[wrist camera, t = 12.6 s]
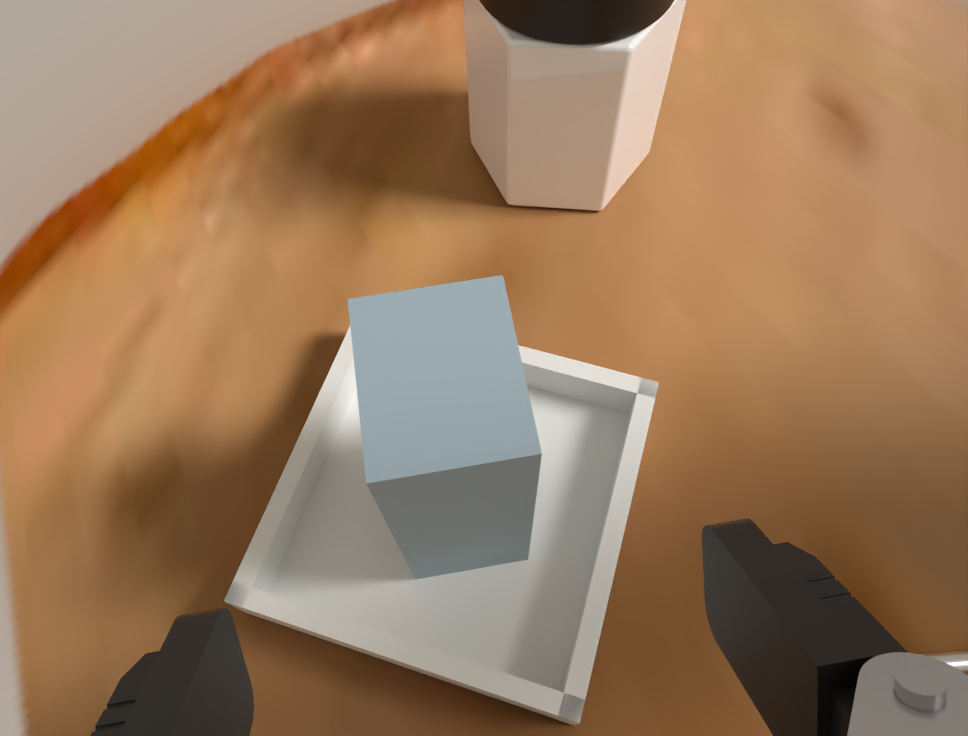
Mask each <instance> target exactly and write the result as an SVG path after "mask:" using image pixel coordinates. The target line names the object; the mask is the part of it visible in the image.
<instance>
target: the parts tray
mask: <svg viewBox="0 0 968 736" xmlns="http://www.w3.org/2000/svg"><path fill="white" fill-rule="evenodd" d="M518 347H519V352H520V356H521V361H522V365H523V370H524V374H525V379H526V384H527V388H528V393H529V397H530V402H531V406H532V411H533V415H534V420H535V425H536V429H537V434H538V438H539V443H540V447H541V452H542V457H541V465H540V472H539V480H538V488H537V495H536V503H535V511H534V518H533V526H532V534H531V541H530V549H529V557H528V560H523V561H517V562H512V563H506V564H500V565H495V566H489V567H483V568H478V569H472V570H467V571H461V572H455V573H450V574H444V575H438V576H433V577H427V578H421V579H415V577H414V575H413V573H412V572H411V570H410V568H409V566H408V564H407V562H406V560H405V558H404V556H403V554H402V552H401V550H400V548H399V546H398V544H397V542H396V540H395V538H394V537H393V535H392V533H391V531H390V529H389V527H388V525H387V523H386V521H385V519H384V517H383V515H382V513H381V511H380V509H379V507H378V505H377V503H376V501H375V500H374V498H373V496H372V494H371V492H370V490H369V488H368V486H367V484H366V476H365V466H364V456H363V446H362V436H361V426H360V416H359V407H358V397H357V387H356V377H355V367H354V357H353V347H352V337H351V327H349V329H348V331H347V334H346V336H345V338H344V340H343V342H342V344H341V347H340V349H339V351H338V353H337V355H336V357H335V360H334V362H333V364H332V366H331V368H330V371H329V373H328V375H327V377H326V379H325V381H324V384H323V386H322V388H321V390H320V392H319V394H318V397H317V399H316V401H315V403H314V405H313V408H312V410H311V412H310V414H309V416H308V418H307V421H306V423H305V425H304V427H303V429H302V431H301V434H300V436H299V438H298V440H297V442H296V445H295V447H294V449H293V451H292V453H291V455H290V458H289V460H288V462H287V464H286V466H285V468H284V471H283V473H282V475H281V477H280V479H279V482H278V484H277V486H276V488H275V490H274V492H273V495H272V497H271V499H270V501H269V503H268V505H267V508H266V510H265V512H264V514H263V516H262V519H261V521H260V523H259V525H258V527H257V529H256V532H255V534H254V536H253V538H252V540H251V542H250V545H249V547H248V549H247V551H246V553H245V556H244V558H243V560H242V562H241V564H240V566H239V569H238V571H237V573H236V575H235V577H234V579H233V582H232V584H231V586H230V588H229V590H228V593H227V595H226V597H225V599H224V602H226V603H228V604H230V605H232V606H234V607H236V608H237V609H239V610H241V611H243V612H245V613H247V614H250V615H253V616H256V617H259V618H262V619H265V620H268V621H270V622H273V623H276V624H279V625H282V626H285V627H288V628H291V629H294V630H297V631H300V632H302V633H305V634H308V635H311V636H314V637H317V638H320V639H323V640H326V641H329V642H332V643H334V644H337V645H340V646H343V647H346V648H349V649H352V650H355V651H358V652H361V653H364V654H366V655H369V656H372V657H375V658H378V659H381V660H384V661H387V662H390V663H393V664H396V665H398V666H401V667H404V668H407V669H410V670H413V671H416V672H419V673H422V674H425V675H428V676H430V677H433V678H436V679H439V680H442V681H445V682H448V683H451V684H454V685H457V686H460V687H462V688H465V689H468V690H471V691H474V692H477V693H480V694H483V695H486V696H489V697H492V698H495V699H497V700H500V701H503V702H506V703H509V704H512V705H515V706H518V707H521V708H524V709H527V710H529V711H532V712H535V713H538V714H541V715H544V716H547V717H550V718H553V719H556V720H559V721H561V722H564V723H567V724H570V725H576V724H579V723H580V720H581V716H582V712H583V707H584V703H585V699H586V694H587V690H588V686H589V681H590V677H591V673H592V669H593V664H594V660H595V656H596V651H597V647H598V643H599V638H600V634H601V630H602V625H603V621H604V617H605V613H606V608H607V604H608V600H609V595H610V591H611V587H612V582H613V578H614V574H615V570H616V565H617V561H618V557H619V552H620V548H621V544H622V539H623V535H624V531H625V526H626V522H627V518H628V514H629V509H630V505H631V501H632V496H633V492H634V488H635V483H636V479H637V475H638V471H639V466H640V462H641V458H642V453H643V449H644V445H645V440H646V436H647V432H648V427H649V423H650V419H651V415H652V410H653V406H654V402H655V397H656V393H657V389H658V384H659V382H656V381H652V380H648V379H644V378H641V377H637V376H633V375H629V374H625V373H622V372H618V371H614V370H610V369H606V368H603V367H599V366H595V365H591V364H588V363H584V362H580V361H576V360H572V359H569V358H565V357H561V356H557V355H553V354H550V353H546V352H542V351H538V350H534V349H531V348H527V347H523V346H519V345H518Z"/></svg>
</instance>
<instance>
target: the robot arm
mask: <svg viewBox="0 0 968 736" xmlns="http://www.w3.org/2000/svg"><path fill="white" fill-rule="evenodd" d="M702 550H703V569H704V589H705V605H706V612H707V617H708V621H709V624H710V627H711V630H712V633H713V636H714V638H715V640H716V642H717V644H718V645H719V647H720V649H721V650H722V652H723V654H724V655H725V657H726V659H727V660H728V662H729V663H730V665H731V667H732V668H733V670H734V672H735V673H736V675H737V677H738V678H739V680H740V682H741V683H742V685H743V687H744V688H745V690H746V691H747V693H748V695H749V696H750V698H751V700H752V701H753V703H754V705H755V706H756V708H757V710H758V711H759V713H760V715H761V716H762V718H763V720H764V721H765V723H766V724H767V726H768V728H769V729H770V731H771V733H772V734H773V736H968V676H967V675H966V674H964V673H963V672H962V671H960V670H958V669H957V668H955V667H954V666H952V665H950V664H948V663H945V662H943V661H941V660H938V659H935V658H933V657H929V656H925V655H921V654H915V653H908V652H907V651H906V650H905V649H904V648H903V647H902V646H901V645H900V644H899V643H898V642H897V641H896V640H895V639H894V638H893V637H892V636H891V635H890V634H889V633H888V632H887V631H886V630H885V629H884V627H883V626H882V625H881V624H880V623H879V622H878V621H877V620H876V619H875V618H874V617H873V616H872V615H871V614H870V613H869V612H868V611H867V610H866V609H865V608H864V607H863V606H862V605H861V604H860V603H859V602H858V601H857V599H856V598H855V597H851V596H850V592H849V591H848V590H847V589H846V588H845V587H844V586H843V585H842V584H841V583H840V582H839V581H838V580H837V581H836V580H835V578H834V576H833V575H832V574H831V573H830V571H829V570H828V569H827V568H826V567H825V566H824V565H823V564H822V563H821V562H820V561H819V560H818V559H817V558H816V557H815V556H813V555H811V554H809V553H807V552H805V551H803V550H801V549H799V548H797V547H795V546H793V545H792V544H790V543H788V542H786V543H780V544H775V545H773V544H772V543H771V541H770V540H769V539H768V538H767V537H766V536H765V535H764V534H763V532H762V531H761V530H760V529H759V528H758V527H757V526H756V525H755V523H754V522H753V521H752V520H750V519H742V520H736V521H730V522H724V523H719V524H713V525H707V526H705V527H704V528H703V532H702ZM253 710H254V703H253V691H252V685H251V681H250V678H249V674H248V671H247V667H246V664H245V660H244V657H243V653H242V650H241V646H240V643H239V639H238V636H237V632H236V629H235V626H234V622H233V619H232V616H231V614H230V612H229V611H228V610H227V609H226V608H222V609H216V610H210V611H204V612H199V613H193V614H187V615H181V616H178V617H177V618H176V619H175V621H174V623H173V625H172V627H171V629H170V631H169V633H168V635H167V637H166V639H165V641H164V643H163V645H162V648H161V650H160V651H158V652H152V653H146V654H145V655H144V656H143V657H142V658H141V659H140V660H139V661H138V662H137V663H136V664H135V665H134V666H133V667H132V668H131V669H130V670H129V671H128V672H127V673H126V674H125V675H124V676H123V677H122V678H121V679H120V681H119V683H118V685H117V687H116V689H115V691H114V692H113V694H112V696H111V698H110V700H109V702H108V704H107V710H104V711H103V713H102V715H101V717H100V719H99V721H98V722H97V724H96V726H95V727H96V730H95V732H92V734H91V736H249V734H250V730H251V726H252V721H253Z"/></svg>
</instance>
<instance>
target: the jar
mask: <svg viewBox="0 0 968 736" xmlns="http://www.w3.org/2000/svg"><path fill="white" fill-rule="evenodd" d="M685 4H686V0H463V8H464V26H465V45H466V64H467V82H468V101H469V120H470V138H471V143H472V145H473V147H474V149H475V150H476V152H477V154H478V155H479V157H480V159H481V160H482V162H483V164H484V165H485V167H486V169H487V170H488V172H489V174H490V175H491V177H492V179H493V181H494V182H495V184H496V186H497V187H498V189H499V191H500V192H501V194H502V196H503V197H504V199H505V201H506V202H507V203H508V204H509V205H516V206H532V207H547V208H563V209H578V210H593V211H600V210H603V209H604V208H605V206H606V205H607V204H608V203H609V202H610V200H611V199H612V198H613V197H614V195H615V194H616V193H617V192H618V190H619V189H620V188H621V187H622V186H623V184H624V183H625V182H626V181H627V179H628V178H629V177H630V176H631V174H632V173H633V172H634V171H635V170H636V168H637V167H638V166H639V165H640V163H641V162H642V161H643V160H644V158H645V157H646V156H647V155H648V153H649V151H650V147H651V143H652V139H653V135H654V131H655V127H656V122H657V118H658V114H659V110H660V106H661V102H662V98H663V94H664V90H665V86H666V81H667V77H668V73H669V69H670V65H671V61H672V57H673V53H674V49H675V45H676V41H677V36H678V32H679V28H680V24H681V20H682V16H683V12H684V8H685Z"/></svg>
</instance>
